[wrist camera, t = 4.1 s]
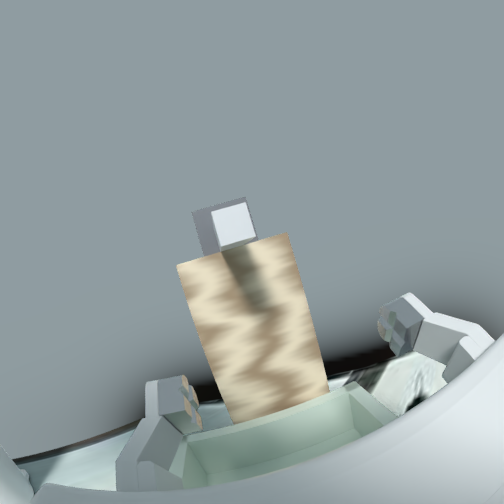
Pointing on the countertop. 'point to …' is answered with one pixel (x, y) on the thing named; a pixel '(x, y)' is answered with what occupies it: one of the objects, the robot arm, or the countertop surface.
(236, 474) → the bin
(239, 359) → the stand
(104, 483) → the countertop surface
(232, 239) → the gray mallet
